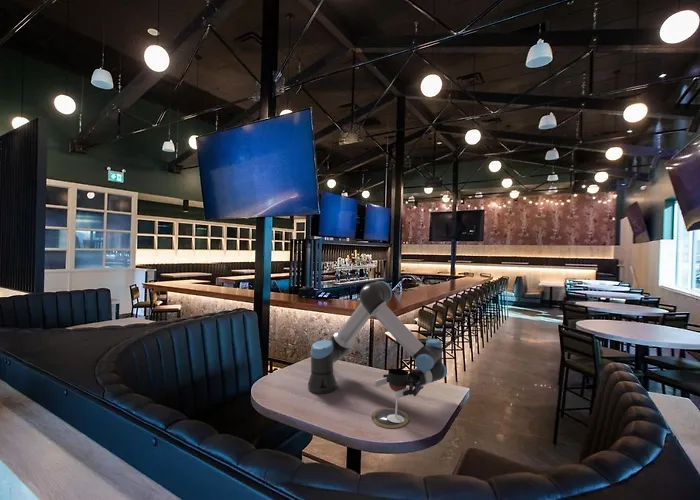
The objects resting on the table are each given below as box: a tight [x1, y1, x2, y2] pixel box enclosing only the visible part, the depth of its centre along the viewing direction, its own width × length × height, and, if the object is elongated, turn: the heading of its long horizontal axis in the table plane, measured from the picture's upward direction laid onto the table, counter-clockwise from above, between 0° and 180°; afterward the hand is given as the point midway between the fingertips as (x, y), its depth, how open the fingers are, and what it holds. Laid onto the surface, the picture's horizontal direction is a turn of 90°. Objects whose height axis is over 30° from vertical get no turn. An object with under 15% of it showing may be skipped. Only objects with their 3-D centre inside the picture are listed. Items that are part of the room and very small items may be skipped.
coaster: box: [371, 407, 410, 429], centre depth 150 cm, size 16×16×1 cm
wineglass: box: [387, 368, 410, 423], centre depth 148 cm, size 8×9×20 cm
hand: (385, 389), depth 148 cm, fingers open, 13 cm apart
